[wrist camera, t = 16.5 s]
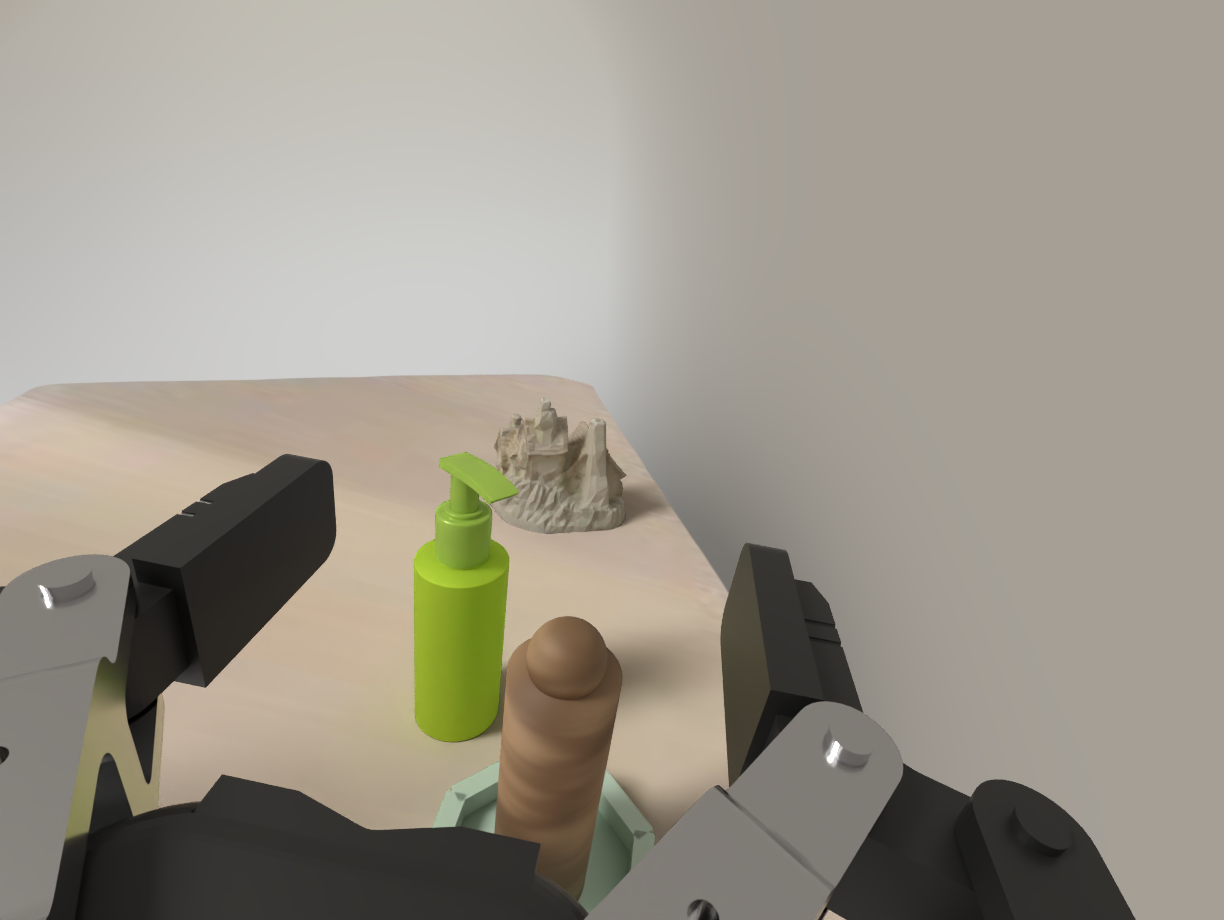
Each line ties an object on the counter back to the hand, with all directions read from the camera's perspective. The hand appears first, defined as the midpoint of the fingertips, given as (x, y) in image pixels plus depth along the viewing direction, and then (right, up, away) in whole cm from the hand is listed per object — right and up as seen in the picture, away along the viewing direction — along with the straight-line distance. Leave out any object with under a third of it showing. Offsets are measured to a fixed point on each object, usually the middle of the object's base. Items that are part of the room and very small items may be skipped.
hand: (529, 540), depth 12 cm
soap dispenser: (-9, -17, +32) cm, 37 cm away
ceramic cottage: (-5, -4, +62) cm, 62 cm away
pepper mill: (-3, -21, +22) cm, 31 cm away
